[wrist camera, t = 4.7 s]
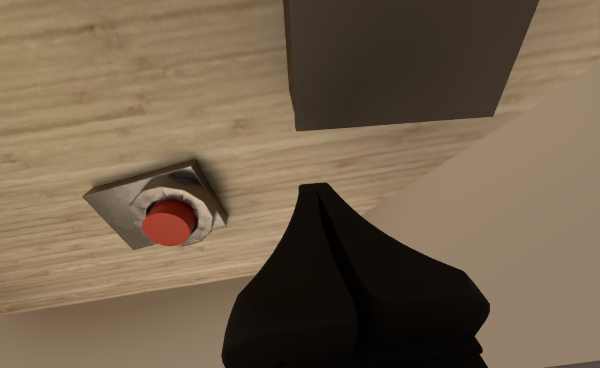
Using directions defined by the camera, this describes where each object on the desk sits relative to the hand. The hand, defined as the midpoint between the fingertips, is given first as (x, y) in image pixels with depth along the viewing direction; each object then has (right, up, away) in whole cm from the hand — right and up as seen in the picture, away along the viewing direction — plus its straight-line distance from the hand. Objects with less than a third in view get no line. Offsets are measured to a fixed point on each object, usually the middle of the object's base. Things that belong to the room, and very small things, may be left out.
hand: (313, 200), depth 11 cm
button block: (-14, -1, +12) cm, 18 cm away
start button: (-12, -2, +9) cm, 15 cm away
